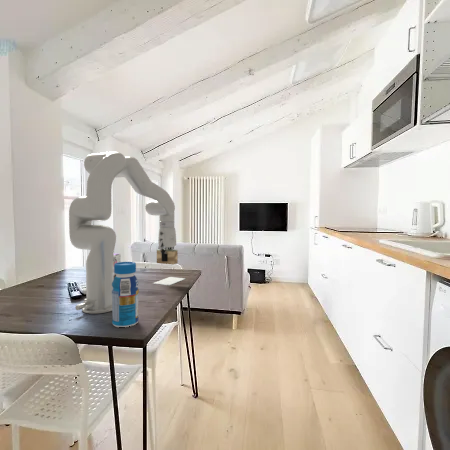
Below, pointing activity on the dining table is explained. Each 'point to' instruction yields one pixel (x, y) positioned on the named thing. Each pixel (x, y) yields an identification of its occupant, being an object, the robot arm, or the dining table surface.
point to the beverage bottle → (125, 295)
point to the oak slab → (168, 257)
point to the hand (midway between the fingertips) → (167, 260)
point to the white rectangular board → (169, 281)
